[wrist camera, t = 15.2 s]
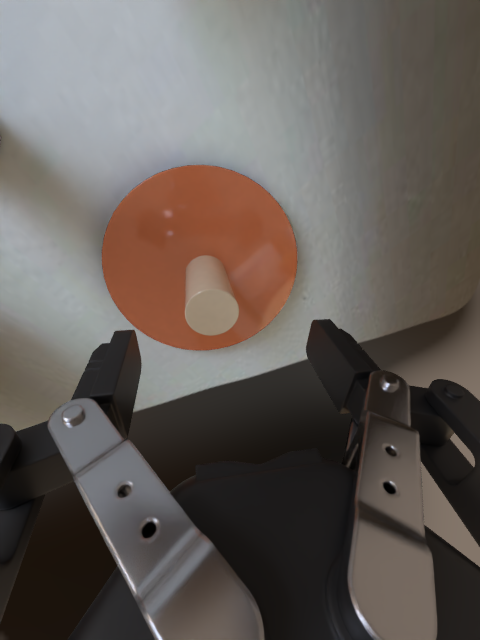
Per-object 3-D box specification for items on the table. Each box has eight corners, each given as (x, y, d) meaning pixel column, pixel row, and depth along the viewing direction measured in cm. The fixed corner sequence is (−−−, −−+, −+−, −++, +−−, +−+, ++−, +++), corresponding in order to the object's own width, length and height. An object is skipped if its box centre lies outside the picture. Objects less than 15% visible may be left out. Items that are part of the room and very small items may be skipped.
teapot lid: (307, 169, 18) (362, 177, 12) (280, 338, 25) (307, 390, 19) (82, 158, 15) (24, 161, 10) (124, 347, 23) (105, 410, 17)
